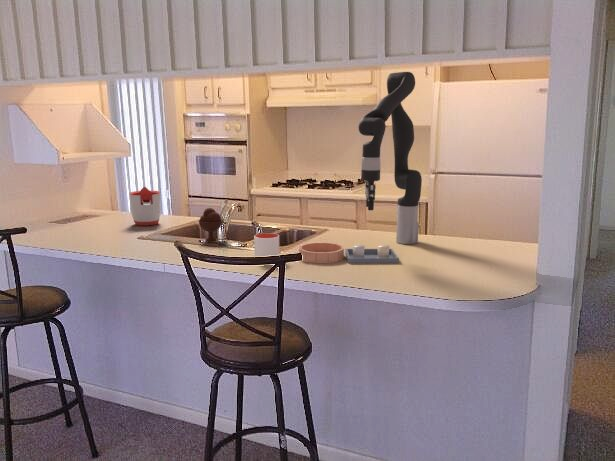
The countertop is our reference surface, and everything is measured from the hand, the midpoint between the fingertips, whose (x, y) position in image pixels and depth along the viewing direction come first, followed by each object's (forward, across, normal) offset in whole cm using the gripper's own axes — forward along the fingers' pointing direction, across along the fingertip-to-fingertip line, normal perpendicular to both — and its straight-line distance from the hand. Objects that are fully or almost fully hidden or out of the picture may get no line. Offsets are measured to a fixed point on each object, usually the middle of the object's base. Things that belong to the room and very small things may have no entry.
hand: (369, 208), depth 228 cm
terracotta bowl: (+20, -4, +20) cm, 28 cm away
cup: (+20, -6, +41) cm, 47 cm away
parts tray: (+20, -5, 0) cm, 21 cm away
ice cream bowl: (+20, +28, +71) cm, 79 cm away
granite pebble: (+20, -5, +4) cm, 21 cm away
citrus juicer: (+21, +64, +112) cm, 131 cm away
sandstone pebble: (+20, -5, -6) cm, 21 cm away
